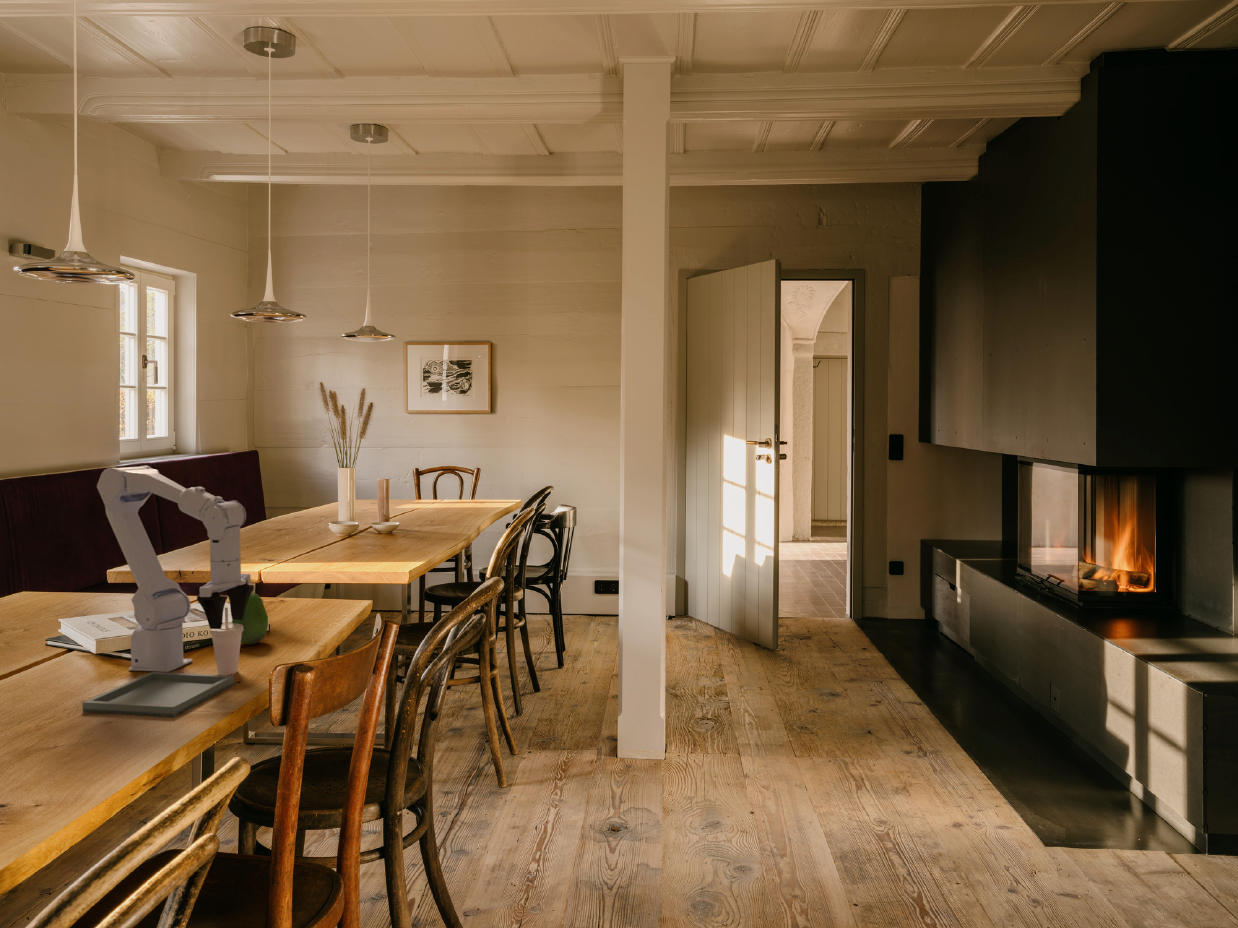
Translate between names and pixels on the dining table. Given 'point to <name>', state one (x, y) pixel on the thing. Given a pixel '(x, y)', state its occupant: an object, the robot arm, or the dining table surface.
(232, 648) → the smoothie
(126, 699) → the tray
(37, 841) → the dining table surface
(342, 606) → the dining table surface
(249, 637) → the avocado
